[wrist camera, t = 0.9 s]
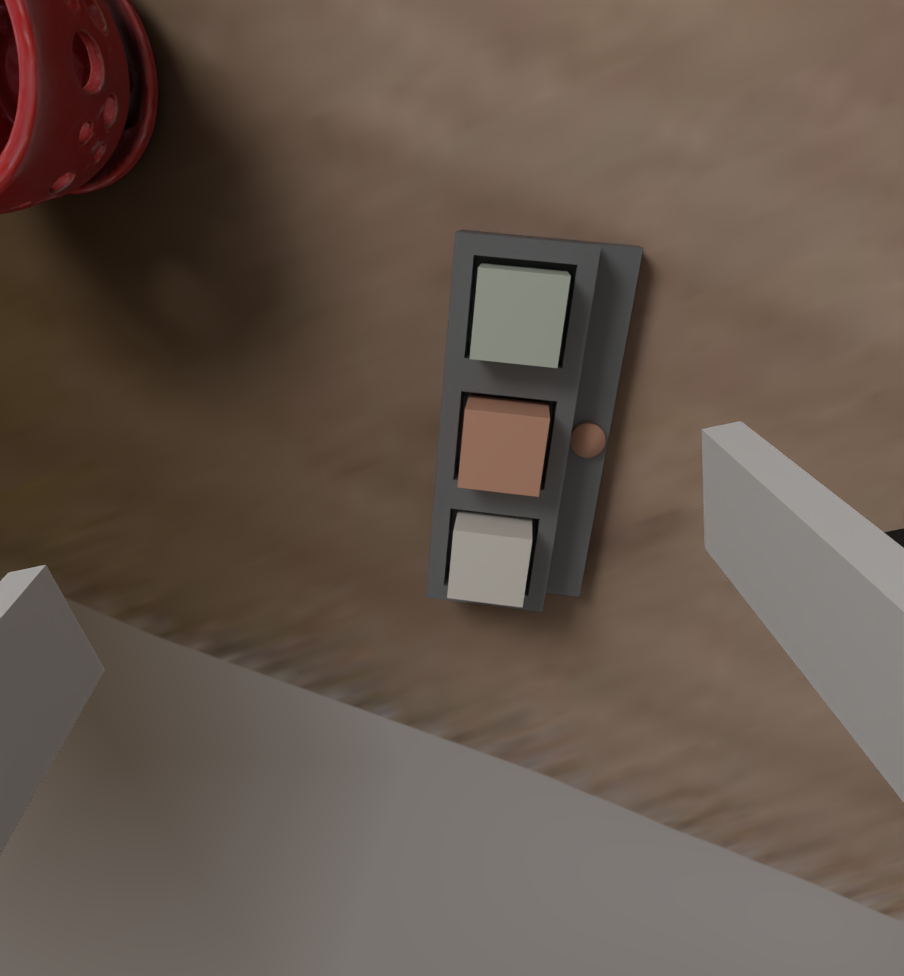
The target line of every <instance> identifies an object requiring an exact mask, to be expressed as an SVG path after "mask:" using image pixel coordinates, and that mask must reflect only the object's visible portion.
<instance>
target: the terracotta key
mask: <svg viewBox="0 0 904 976" xmlns="http://www.w3.org/2000/svg"><path fill="white" fill-rule="evenodd" d="M549 423H550V413H549V404H548V403H544V402H535V401H525V400H516V399H507V398H498V397H488V396H479V395H470V394H469V397H468V400H467V403H466V407H465V412H464V423H463V433H462V444H461V455H460V465H459V476H458V486H457V487H458V488H467V489H475V490H484V491H492V492H501V493H510V494H518V495H527V496H535V497H539V491H540V484H541V478H542V471H543V464H544V457H545V450H546V443H547V436H548V429H549Z"/></svg>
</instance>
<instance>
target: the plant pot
mask: <svg viewBox="0 0 904 976" xmlns="http://www.w3.org/2000/svg"><path fill="white" fill-rule="evenodd" d="M157 107H158V79H157V72H156V65H155V60H154V56H153V51H152V48H151V45H150V42H149V39H148V36H147V33H146V31H145V28H144V26H143V24H142V22H141V20H140V18H139V15H138V14H137V12H136V10H135V8H134V6H133V5H132V3H131V1H130V0H0V214H5V213H10V212H14V211H18V210H22V209H25V208H28V207H31V206H34V205H36V204H39V203H41V202H44V201H48V200H52V199H55V198H59V197H62V196H64V195H66V194H82V193H89V192H92V191H96V190H99V189H102V188H105V187H107V186H109V185H111V184H113V183H115V182H116V181H118V180H119V179H121V178H122V177H123V176H125V175H126V174H127V173H128V172H129V171H130V170H131V169H132V168H133V167H134V166H135V165H136V163H137V162H138V161H139V159H140V158H141V156H142V155H143V153H144V151H145V149H146V147H147V145H148V143H149V140H150V138H151V135H152V133H153V129H154V126H155V120H156V115H157Z"/></svg>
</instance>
